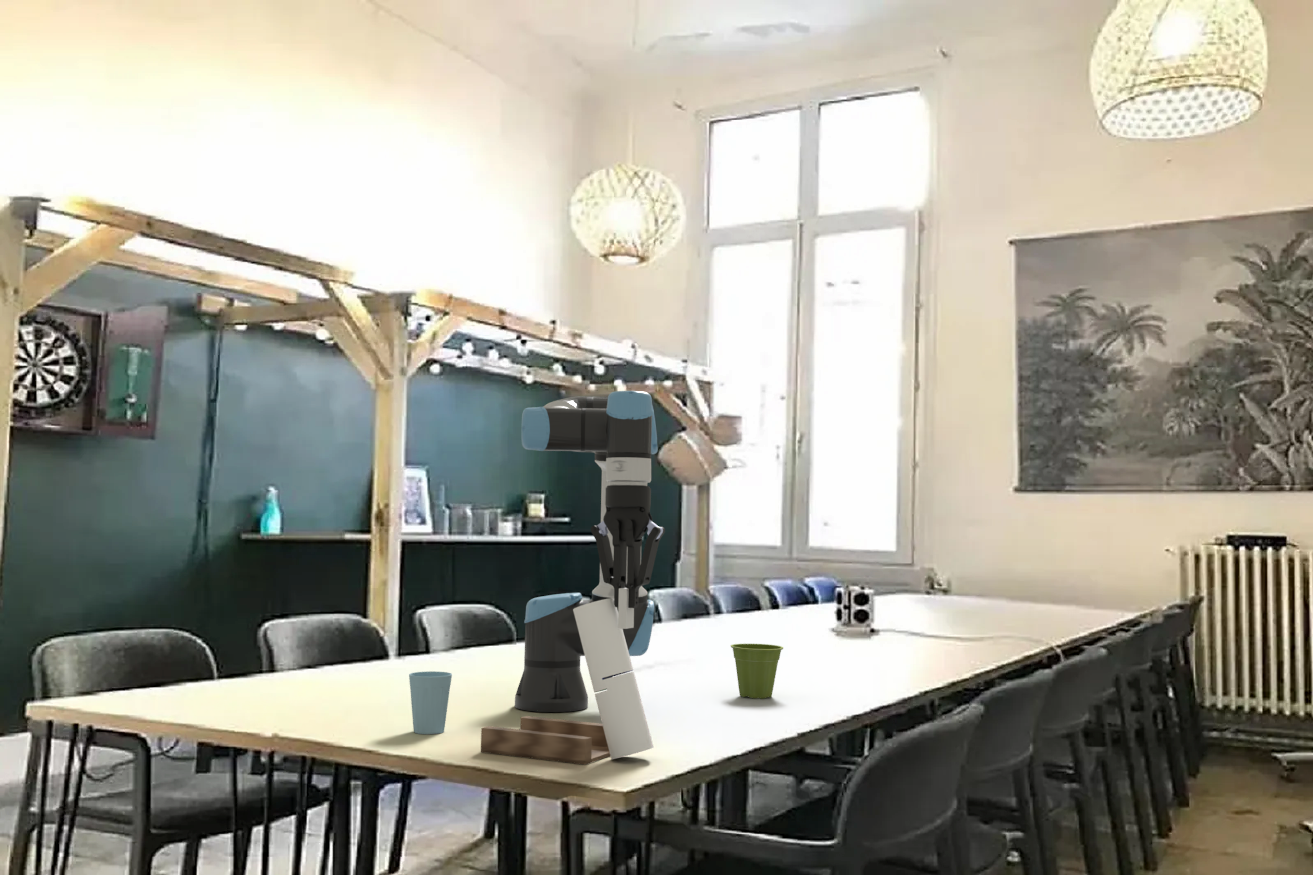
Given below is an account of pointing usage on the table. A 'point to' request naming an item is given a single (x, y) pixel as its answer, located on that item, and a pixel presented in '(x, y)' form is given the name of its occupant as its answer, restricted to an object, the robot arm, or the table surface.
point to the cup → (429, 700)
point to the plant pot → (756, 668)
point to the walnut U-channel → (548, 740)
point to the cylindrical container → (613, 678)
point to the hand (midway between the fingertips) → (625, 627)
